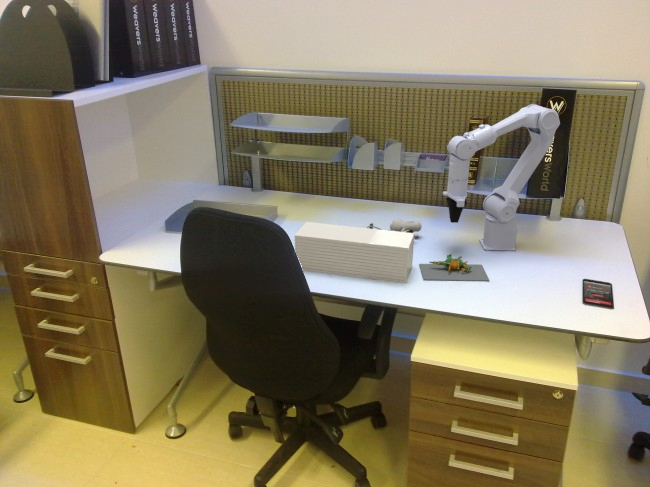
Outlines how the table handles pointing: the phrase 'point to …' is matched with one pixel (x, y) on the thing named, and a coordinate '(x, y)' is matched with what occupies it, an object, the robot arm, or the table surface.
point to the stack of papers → (355, 251)
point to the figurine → (453, 263)
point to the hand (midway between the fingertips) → (454, 221)
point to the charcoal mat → (453, 273)
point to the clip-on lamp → (402, 226)
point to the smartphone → (597, 294)
